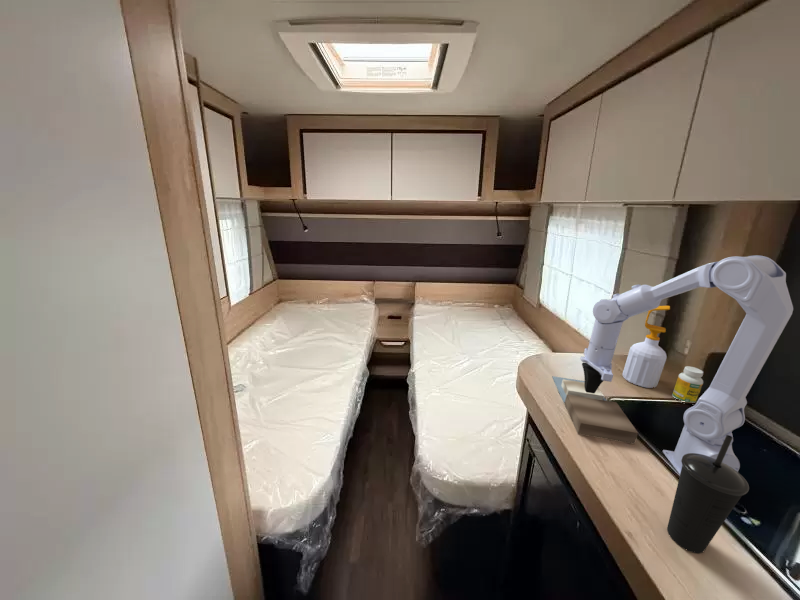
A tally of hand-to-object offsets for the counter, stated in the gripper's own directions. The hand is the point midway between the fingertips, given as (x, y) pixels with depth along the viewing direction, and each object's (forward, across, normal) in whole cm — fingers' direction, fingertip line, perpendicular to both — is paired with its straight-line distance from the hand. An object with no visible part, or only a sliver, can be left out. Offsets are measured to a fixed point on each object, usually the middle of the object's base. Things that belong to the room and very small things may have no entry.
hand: (589, 391), depth 89 cm
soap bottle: (+4, -19, +21) cm, 29 cm away
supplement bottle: (+4, -11, +29) cm, 31 cm away
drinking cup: (+4, +37, +4) cm, 37 cm away
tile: (+2, -5, 0) cm, 5 cm away
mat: (+4, -6, 0) cm, 7 cm away
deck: (+4, +8, 0) cm, 9 cm away
